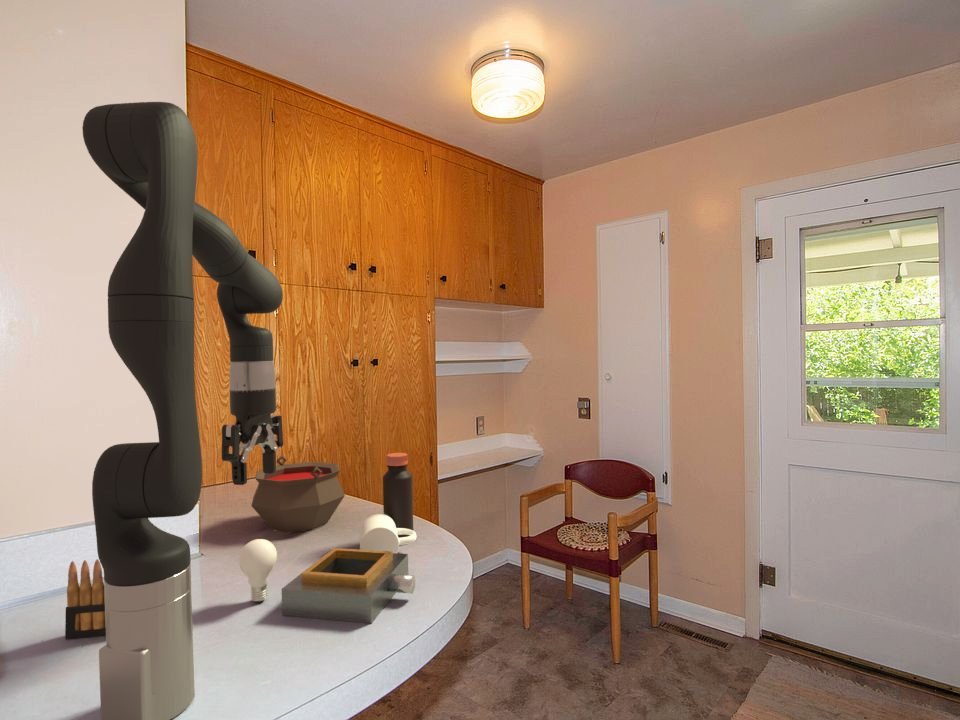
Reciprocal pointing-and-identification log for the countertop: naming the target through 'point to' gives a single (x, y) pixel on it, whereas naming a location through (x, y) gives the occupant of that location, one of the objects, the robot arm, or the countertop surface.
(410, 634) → the countertop surface
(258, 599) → the lightbulb
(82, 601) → the ammunition clip
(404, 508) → the bottle
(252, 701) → the countertop surface
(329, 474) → the brown cauldron
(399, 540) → the mug
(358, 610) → the grey shallow box
